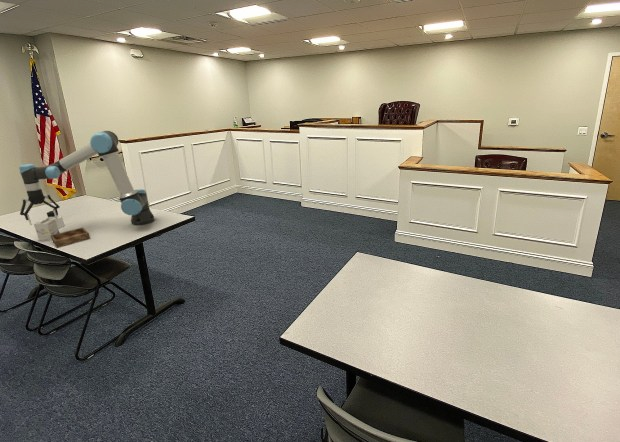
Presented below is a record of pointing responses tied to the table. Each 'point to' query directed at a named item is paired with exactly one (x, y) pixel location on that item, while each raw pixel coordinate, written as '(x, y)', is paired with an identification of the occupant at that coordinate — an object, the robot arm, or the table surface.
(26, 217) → the robot arm
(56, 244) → the walnut tray
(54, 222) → the ink box
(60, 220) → the medicine bottle
